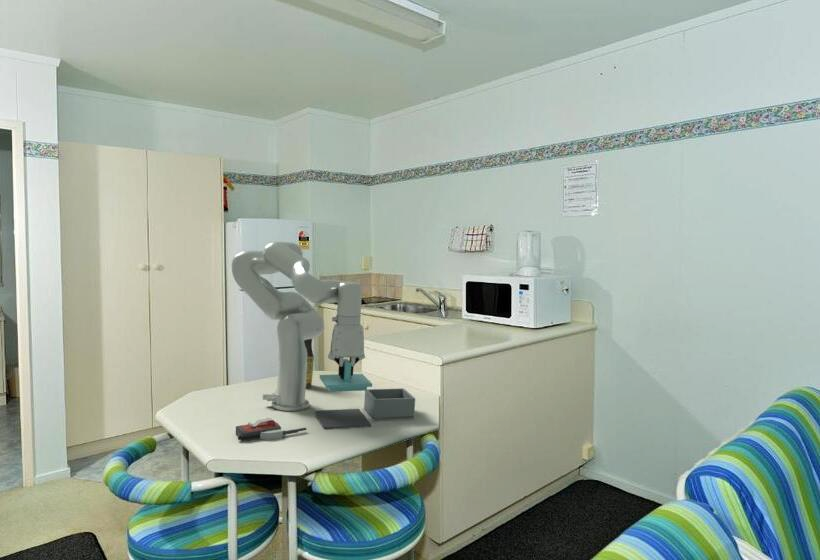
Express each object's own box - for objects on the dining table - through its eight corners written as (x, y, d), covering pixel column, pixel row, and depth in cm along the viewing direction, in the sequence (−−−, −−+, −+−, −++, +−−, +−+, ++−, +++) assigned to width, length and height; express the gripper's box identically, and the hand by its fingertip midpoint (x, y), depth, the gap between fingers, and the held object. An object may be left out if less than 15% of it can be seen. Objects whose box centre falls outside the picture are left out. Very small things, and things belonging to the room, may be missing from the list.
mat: (323, 429, 163) (323, 427, 163) (314, 412, 178) (315, 410, 178) (371, 426, 168) (371, 424, 168) (358, 410, 183) (359, 408, 183)
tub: (373, 421, 174) (374, 399, 173) (363, 409, 185) (365, 389, 185) (413, 419, 178) (415, 398, 178) (402, 407, 190) (403, 388, 189)
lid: (326, 393, 164) (327, 365, 164) (319, 382, 176) (320, 356, 175) (371, 391, 169) (373, 364, 169) (361, 381, 181) (363, 356, 180)
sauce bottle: (302, 389, 204) (305, 337, 203) (291, 385, 208) (294, 334, 207) (315, 386, 210) (318, 335, 208) (304, 382, 213) (307, 333, 212)
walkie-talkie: (240, 446, 147) (307, 434, 159) (241, 430, 147) (308, 420, 159) (230, 435, 154) (295, 425, 166) (231, 420, 154) (296, 411, 166)
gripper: (326, 322, 165) (323, 381, 166) (375, 322, 170) (372, 380, 171) (321, 318, 172) (318, 375, 173) (369, 319, 177) (366, 374, 179)
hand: (345, 377), depth 172 cm, fingers closed on lid
